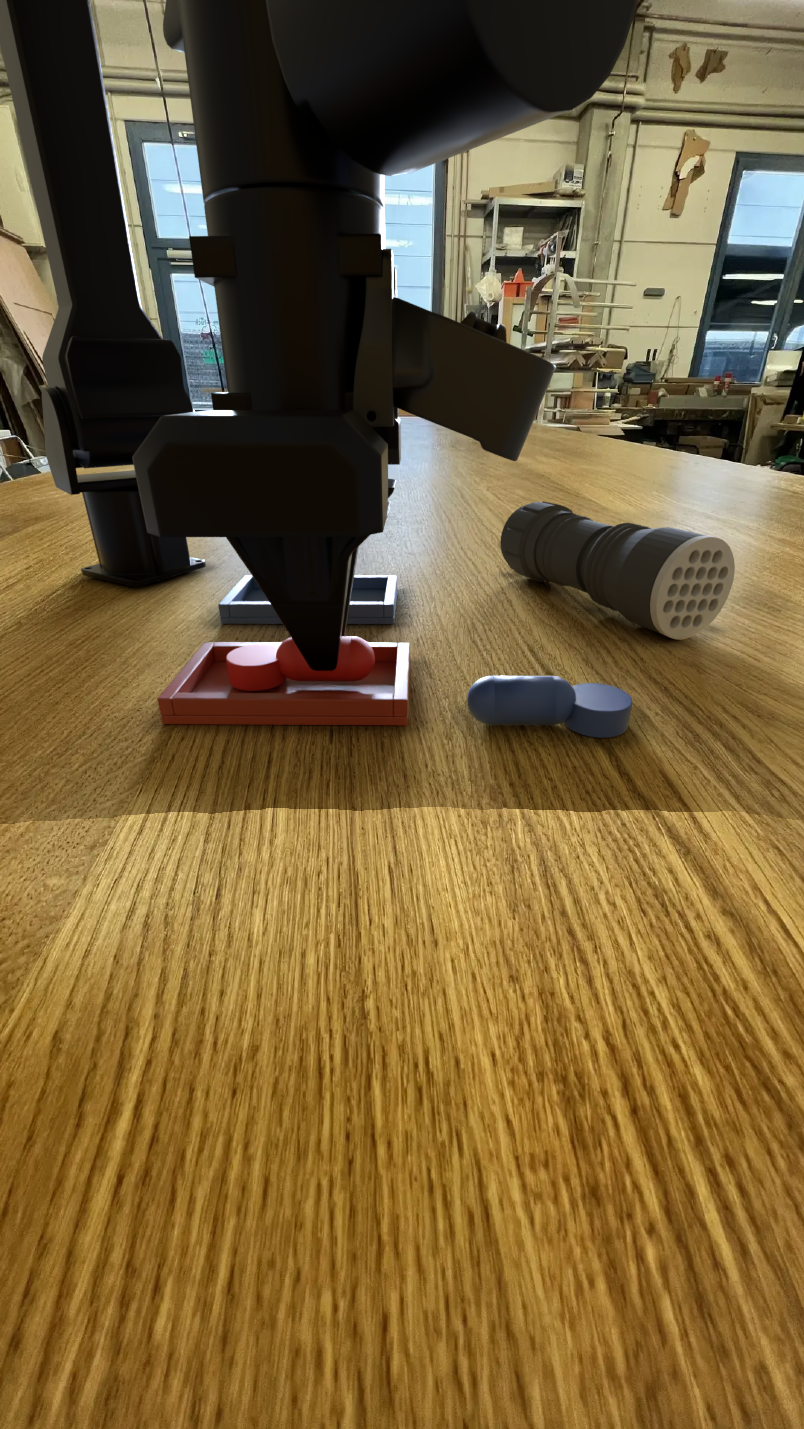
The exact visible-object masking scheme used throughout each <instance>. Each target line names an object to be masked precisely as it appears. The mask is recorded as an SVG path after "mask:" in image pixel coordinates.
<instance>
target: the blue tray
mask: <svg viewBox="0 0 804 1429" xmlns="http://www.w3.org/2000/svg"><path fill="white" fill-rule="evenodd" d="M397 597H398V575H396V574H380V575H379V574H354V580H353V586H352V593H351V599H350V605H349V612H348V618H347V625H395V619H396V618H395V616H396V609H397V599H398V598H397ZM217 606H218V613H219V618H220V624H221V625H283V623H282V621H281V620H280V618H279V616H278V615H277V613H276V612H275V610H274V608H273V607H272V605H271V604H270V602H269V601H268V599H267V597H266V596H265V594H264V593H263V591H262V589H261V588H260V586H259V585H258V583H257V582H256V580H255V579H254V577H253V576H252V575H251V574H244V576H243V577H241V579H240V580H239V581H238V582H237V583H236V584H235V586H233V588H231V589H230V591H229V592H228V593H227V594H226V595H225V596H224V597H223V599H222V600H220V602H219V603H218V605H217Z"/></svg>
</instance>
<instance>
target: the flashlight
mask: <svg viewBox="0 0 804 1429" xmlns="http://www.w3.org/2000/svg"><path fill="white" fill-rule="evenodd" d="M500 551H501V555H502V557H503V559H504V561H505V562H506V564H507V566H508V567H509V568H510V569H511V570H513V571H514V572H515V573H516V574H518V575H520V576H521V577H522V576H523V577H525V578H527V579H530V580H533V581H535V582H538V583H543V582H550V583H553V584H557V585H558V586H561V587H571V588H573V589H575V590H578V591H581V592H584V593H586V594H587V595H588V596H589V598H590V599H591V600H592V601H593V602H594V603H595V604H597V605H599V606H601V607H605V608H606V609H610V610H612V611H614V612H618V613H619V614H620V615H621V616H623V617H624V618H625V619H626V620H627V621H629V622H630V623H633V624H636V625H638V626H641V627H643V628H646V629H648V630H650V631H653V632H656V633H658V634H660V635H663V636H665V637H668V638H671V639H674V640H686V639H690V638H692V637H694V636H696V635H698V634H700V633H701V632H703V631H704V630H705V629H706V628H708V626H710V625H711V624H712V623H713V621H714V620H715V619H716V618H717V617H718V615H719V614H720V613H721V612H722V609H723V608H724V606H725V604H726V603H727V600H728V598H729V595H730V593H731V590H732V587H733V585H734V584H733V583H734V580H735V572H736V570H735V569H736V564H735V557H734V553H733V551H732V549H731V547H730V545H729V544H728V543H727V542H726V541H725V540H723V539H722V538H720V537H716V536H712V535H708V534H707V535H706V534H702V533H698V532H694V531H688V530H684V529H680V528H677V527H669V526H665V527H654V528H652V527H649V526H647V525H642V524H636V523H633V522H622V523H618V524H616V525H611V524H607V523H603V522H598V521H595V520H594V519H591V518H590V517H588V516H584V515H580V514H576V513H575V512H573V510H572V509H570V508H568V507H567V506H565V505H561V504H557V503H553V502H549V501H534V502H530V503H528V504H524V505H522V506H520V507H519V508H517V509H515V511H513V512H512V513H511V515H510V516H509V517H508V518H507V519H506V521H505V523H504V525H503V527H502V530H501V535H500Z"/></svg>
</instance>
